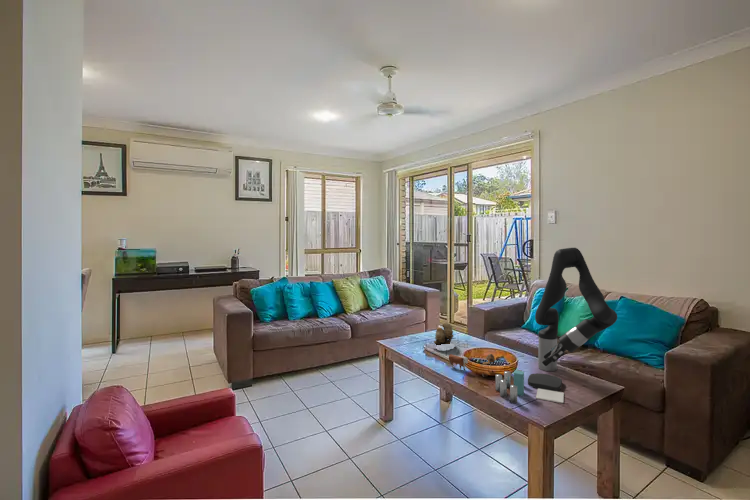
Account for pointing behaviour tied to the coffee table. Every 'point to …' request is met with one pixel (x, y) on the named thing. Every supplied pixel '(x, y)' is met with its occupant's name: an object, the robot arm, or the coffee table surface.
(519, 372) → the teal block
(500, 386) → the posts
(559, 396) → the tile
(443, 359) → the coffee table surface
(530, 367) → the coffee table surface
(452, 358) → the bull figurine
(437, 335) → the brown squirrel figurine
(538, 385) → the media streaming box
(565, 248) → the robot arm
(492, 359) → the lion figurine
